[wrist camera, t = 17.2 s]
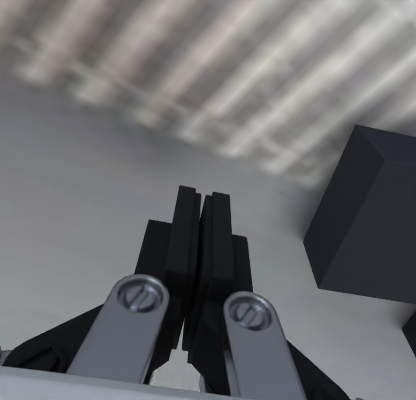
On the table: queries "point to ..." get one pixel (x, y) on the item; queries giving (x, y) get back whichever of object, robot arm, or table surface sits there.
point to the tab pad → (368, 219)
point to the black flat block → (411, 333)
